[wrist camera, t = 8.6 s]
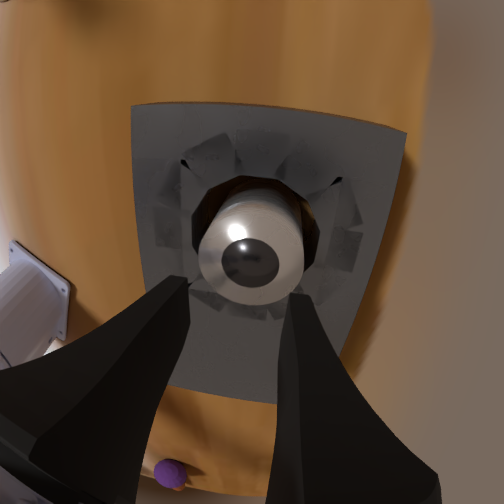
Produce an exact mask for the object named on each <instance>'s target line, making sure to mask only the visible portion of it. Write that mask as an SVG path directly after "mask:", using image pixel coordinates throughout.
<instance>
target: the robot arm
mask: <svg viewBox="0 0 504 504" xmlns="http://www.w3.org/2000/svg"><path fill="white" fill-rule="evenodd" d="M9 261H10V266H9V267H8V268H6V269H5V270H4V271H3V272H2V273H1V274H0V504H135V501H136V494H137V488H138V482H139V476H140V472H141V467H142V463H143V458H144V454H145V450H146V446H147V442H148V438H149V434H150V431H151V427H152V424H153V420H154V417H155V414H156V410H157V408H158V405H159V402H160V400H161V397H162V395H163V393H164V390H165V388H166V386H167V384H168V381H169V379H170V377H171V375H172V372H173V370H174V368H175V366H176V363H177V361H178V359H179V357H180V354H181V352H182V350H183V347H184V344H185V341H186V337H187V334H188V331H189V327H190V324H191V320H190V306H189V292H188V278H187V277H181V276H175V275H169V276H168V277H167V278H165V279H164V280H163V281H161V282H160V283H159V284H157V285H156V286H155V287H154V288H152V289H151V290H150V291H148V292H147V293H146V294H144V295H143V296H142V297H141V298H139V299H138V300H137V301H135V302H134V303H133V304H131V305H130V306H129V307H127V308H126V309H125V310H123V311H122V312H120V313H119V314H117V315H116V316H114V317H113V318H111V319H110V320H108V321H107V322H106V323H104V324H103V325H101V326H100V327H98V328H96V329H95V330H93V331H91V332H90V333H88V334H86V335H84V336H83V337H81V338H79V339H77V340H76V341H74V342H72V343H70V344H68V345H66V346H63V347H61V348H59V349H57V350H55V351H53V352H51V353H48V354H46V355H44V353H45V352H46V351H47V349H48V348H49V346H50V345H51V344H52V342H53V341H54V340H55V338H56V337H58V338H59V339H61V340H62V341H64V340H65V339H66V329H67V315H68V304H69V295H70V284H69V283H68V282H67V281H66V280H65V279H63V278H62V277H60V276H59V275H58V274H56V273H55V272H54V271H52V270H51V269H50V268H48V267H47V266H46V265H44V264H43V263H42V262H40V261H39V260H38V259H36V258H35V257H34V256H33V255H31V254H30V253H29V252H27V251H26V250H25V249H24V248H23V247H21V246H20V245H19V244H18V243H16V242H15V241H14V240H11V241H10V242H9ZM43 355H44V356H43ZM265 504H442V499H441V487H440V483H439V478H438V474H437V473H436V472H434V471H433V470H432V469H431V468H430V467H429V466H427V465H426V464H425V463H424V462H423V461H422V460H420V459H419V458H418V457H417V456H416V455H415V454H413V453H412V452H411V451H410V450H409V449H408V448H407V447H406V446H405V445H404V444H403V443H402V442H401V441H400V440H399V439H398V438H397V437H396V436H395V435H394V433H393V432H392V431H391V430H390V429H389V428H388V427H387V426H386V424H385V423H384V422H383V421H382V420H381V418H380V417H379V416H378V415H377V414H376V413H375V412H374V410H373V409H372V408H371V406H370V405H369V404H368V402H367V401H366V400H365V398H364V397H363V396H362V394H361V393H360V391H359V390H358V388H357V387H356V385H355V384H354V382H353V381H352V379H351V378H350V376H349V375H348V373H347V371H346V370H345V368H344V366H343V365H342V363H341V361H340V359H339V358H338V356H337V354H336V352H335V350H334V348H333V346H332V344H331V342H330V340H329V338H328V336H327V335H326V333H325V330H324V328H323V326H322V324H321V322H320V319H319V317H318V315H317V312H316V310H315V307H314V304H313V302H312V299H311V297H310V296H309V295H307V294H299V293H291V292H290V293H289V298H288V303H287V308H286V313H285V318H284V323H283V328H282V333H281V338H280V347H279V356H278V373H277V428H276V438H275V446H274V453H273V460H272V467H271V473H270V479H269V485H268V491H267V497H266V502H265Z"/></svg>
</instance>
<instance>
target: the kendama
mask: <svg viewBox="0 0 504 504" xmlns="http://www.w3.org/2000/svg"><path fill="white" fill-rule="evenodd" d="M154 477H155V478H156V480H157V481H158V482H159V483H160V484H161V485H163V486H164V487H168V488H173V489H174V490H177V491H181V490H183V489H184V488H185V483H184V482H185V481H186V477H187V474H186V470H185V468H184V467H183V465H182V464H181V463H179V462H178V461H175V460H171V459H164V460H162V461H160V462H158V463H157V464H156V466H155V468H154Z"/></svg>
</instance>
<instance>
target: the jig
mask: <svg viewBox="0 0 504 504" xmlns="http://www.w3.org/2000/svg"><path fill="white" fill-rule="evenodd" d="M406 136H407V133H405V132H403V131H400V130H397V129H395V128H392V127H389V126H386V125H382V124H378V123H374V122H369V121H365V120H360V119H355V118H350V117H345V116H340V115H334V114H329V113H323V112H316V111H310V110H303V109H295V108H287V107H278V106H269V105H257V104H244V103H226V102H157V103H148V104H141V105H134V106H131V149H132V172H133V188H134V201H135V212H136V222H137V232H138V240H139V248H140V256H141V263H142V270H143V277H144V283H145V289H146V293H147V292H148V291H150V290H151V289H152V288H154V287H155V286H156V285H157V284H159V283H160V282H161V281H163V280H164V279H165V278H167V277H168V276H169V275H175V276H181V277H187V278H188V292H189V306H190V320H191V324H190V327H189V331H188V334H187V337H186V341H185V344H184V347H183V350H182V352H181V354H180V357H179V359H178V361H177V363H176V366H175V368H174V370H173V372H172V375H171V377H170V379H169V381H168V385H172V386H176V387H180V388H184V389H189V390H193V391H198V392H203V393H208V394H213V395H218V396H224V397H230V398H236V399H242V400H248V401H256V402H263V403H271V404H277V373H278V356H279V347H280V338H281V333H282V328H283V323H284V318H285V313H286V308H287V303H288V298H289V294H288V295H287V296H286V297H284V298H282V299H281V300H278V301H276V302H273V303H270V304H265V305H246V304H241V303H237V302H234V301H231V300H229V299H227V298H225V297H223V296H222V295H220V294H219V293H217V292H216V291H215V290H214V289H213V288H212V287H211V286H210V285H209V284H208V283H207V281H206V280H205V278H204V276H203V274H202V272H201V269H200V266H199V261H198V252H199V247H200V243H201V241H202V239H203V237H204V235H205V233H206V232H207V230H208V228H209V226H210V225H209V223H208V194H209V193H210V191H211V190H212V188H213V187H215V186H217V185H219V184H221V183H224V182H226V181H228V180H230V179H232V178H235V177H237V176H239V175H245V176H254V177H263V178H272V179H278V180H280V181H281V182H282V183H284V184H285V185H287V186H288V187H289V188H291V189H292V190H293V191H295V192H296V193H298V194H299V195H300V196H302V197H303V198H304V199H306V200H307V201H308V203H309V205H310V208H311V210H312V212H313V215H314V217H315V218H314V223H313V229H312V234H311V235H310V236H309V238H308V239H307V240H306V241H305V242H304V243H303V250H304V270H303V274H302V277H301V280H300V281H299V283H298V285H297V286H296V287H295V289H294V290H293V291H292V292H291V293H299V294H307V295H309V296H310V297H311V299H312V302H313V304H314V307H315V310H316V312H317V315H318V317H319V319H320V322H321V324H322V326H323V328H324V330H325V333H326V335H327V336H328V338H329V340H330V342H331V344H332V346H333V348H334V350H335V352H336V354H337V356H338V358H339V355H340V353H341V351H342V348H343V346H344V344H345V341H346V339H347V336H348V334H349V332H350V329H351V327H352V324H353V322H354V319H355V316H356V314H357V311H358V309H359V306H360V303H361V301H362V298H363V295H364V292H365V290H366V287H367V284H368V281H369V278H370V275H371V272H372V269H373V266H374V263H375V260H376V257H377V254H378V250H379V247H380V244H381V241H382V237H383V234H384V230H385V227H386V223H387V220H388V216H389V212H390V209H391V205H392V201H393V197H394V193H395V189H396V185H397V180H398V176H399V171H400V167H401V162H402V157H403V152H404V147H405V142H406Z"/></svg>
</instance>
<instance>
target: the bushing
mask: <svg viewBox="0 0 504 504" xmlns="http://www.w3.org/2000/svg"><path fill="white" fill-rule="evenodd" d="M198 261H199V266H200V269H201V272H202V274H203V276H204V278H205V280H206V281H207V283H208V284H209V285H210V286H211V287H212V288H213V289H214V290H215V291H216V292H217V293H219V294H220V295H222V296H223V297H225V298H227V299H229V300H231V301H234V302H237V303H241V304H246V305H265V304H270V303H273V302H276V301H278V300H281V299H282V298H284V297H286V296H287V295H288V294H289V293H290V292H292V291H293V290H294V289H295V287H296V286H297V285H298V283H299V281H300V280H301V277H302V274H303V270H304V250H303V233H302V219H301V209H300V205H299V203H298V200H297V198H296V197H295V195H294V194H293V193H292V191H290V190H289V189H288V188H287V187H286V186H285V185H283V184H281V183H279V182H277V181H275V180H271V179H266V178H255V179H250V180H246V181H244V182H242V183H240V184H238V185H237V186H236V187H234V188H233V189H232V190H231V192H230V193H229V194H228V196H227V197H226V199H225V201H224V202H223V204H222V206H221V208H220V209H219V211H218V213H217V214H216V216H215V218H214V220H213V221H212V223H211V225H210V226H209V228H208V230H207V232H206V233H205V235H204V237H203V239H202V241H201V243H200V247H199V252H198Z"/></svg>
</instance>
